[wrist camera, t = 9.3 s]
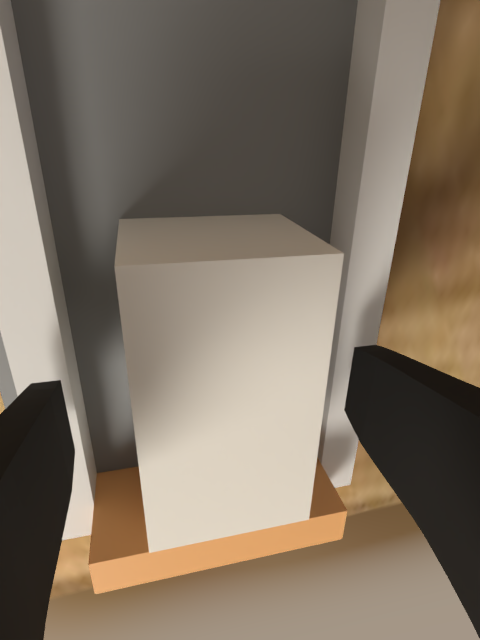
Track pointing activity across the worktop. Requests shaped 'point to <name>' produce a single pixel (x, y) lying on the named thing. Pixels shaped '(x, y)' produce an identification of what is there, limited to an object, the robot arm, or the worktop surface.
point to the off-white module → (225, 368)
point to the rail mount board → (192, 207)
